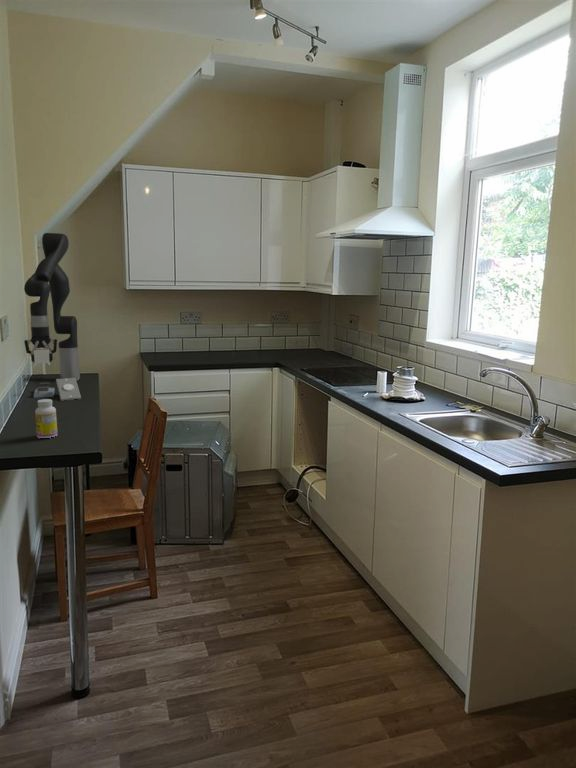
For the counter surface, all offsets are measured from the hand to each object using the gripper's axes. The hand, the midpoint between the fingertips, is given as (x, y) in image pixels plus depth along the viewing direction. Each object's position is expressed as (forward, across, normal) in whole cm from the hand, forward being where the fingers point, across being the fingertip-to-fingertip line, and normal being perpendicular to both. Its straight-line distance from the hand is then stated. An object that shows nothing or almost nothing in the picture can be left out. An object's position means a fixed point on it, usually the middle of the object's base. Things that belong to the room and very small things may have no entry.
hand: (42, 362), depth 272 cm
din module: (+1, 0, 0) cm, 1 cm away
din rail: (+13, 0, 0) cm, 13 cm away
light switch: (+15, -11, +10) cm, 21 cm away
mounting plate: (+15, 0, 0) cm, 15 cm away
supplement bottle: (+16, -6, +77) cm, 78 cm away
